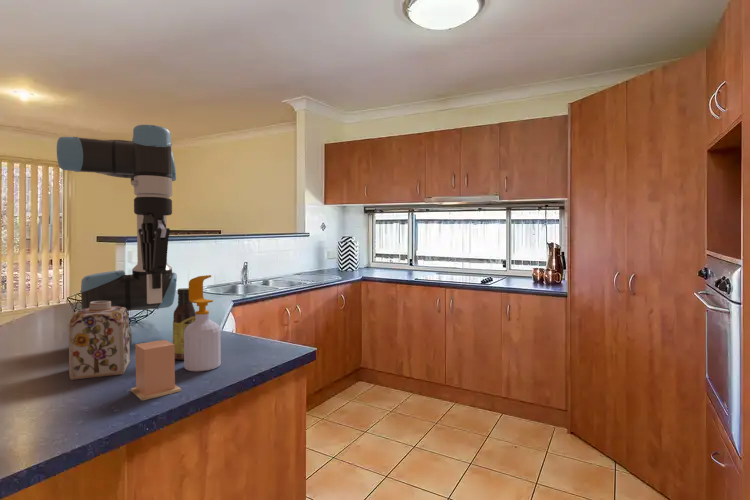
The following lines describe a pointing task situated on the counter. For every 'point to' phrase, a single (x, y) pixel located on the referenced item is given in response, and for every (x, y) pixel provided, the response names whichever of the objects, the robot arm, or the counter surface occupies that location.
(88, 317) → the decorative jar
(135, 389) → the post
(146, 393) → the peach block
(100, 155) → the robot arm
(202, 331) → the soap bottle
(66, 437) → the counter surface
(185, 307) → the sauce bottle
